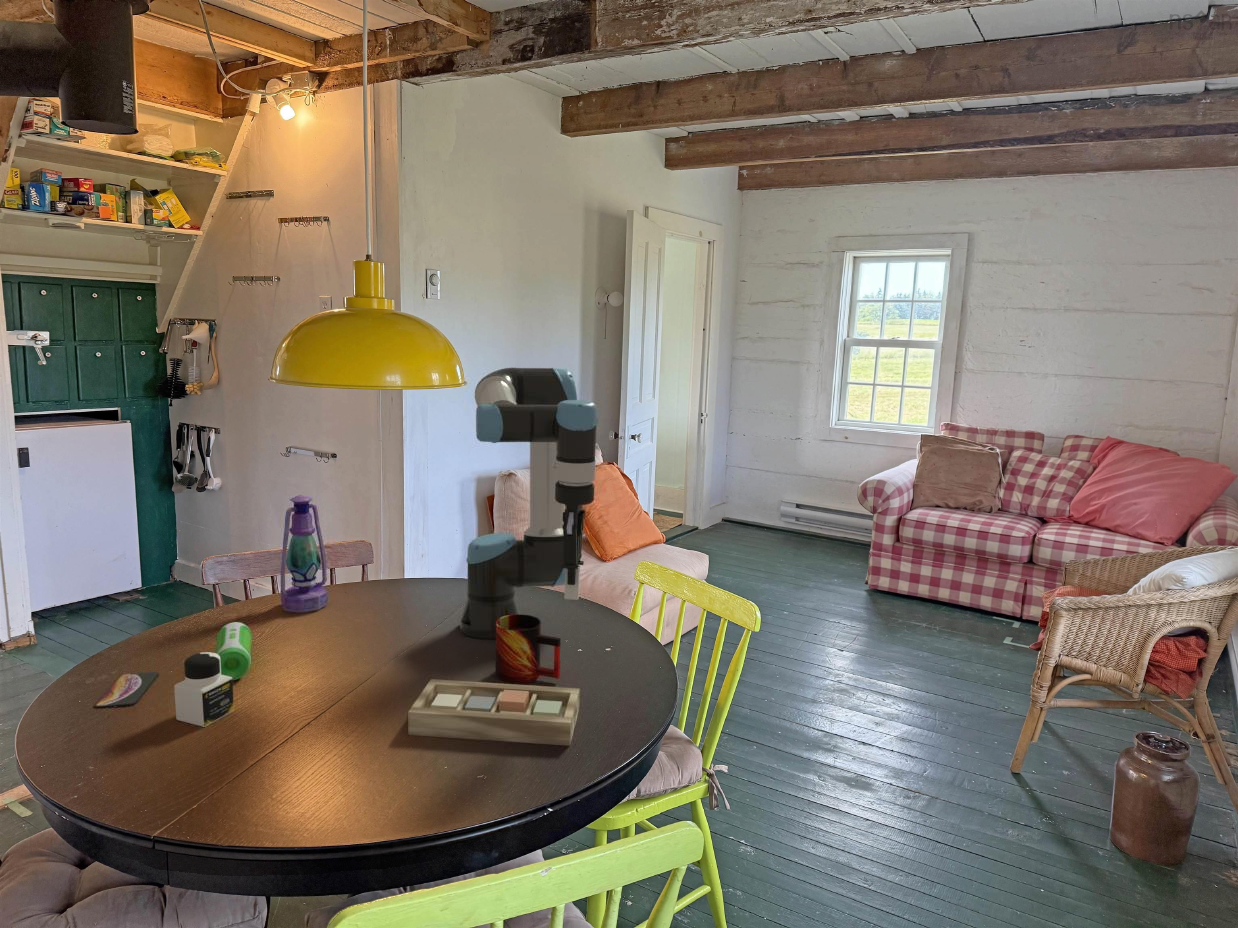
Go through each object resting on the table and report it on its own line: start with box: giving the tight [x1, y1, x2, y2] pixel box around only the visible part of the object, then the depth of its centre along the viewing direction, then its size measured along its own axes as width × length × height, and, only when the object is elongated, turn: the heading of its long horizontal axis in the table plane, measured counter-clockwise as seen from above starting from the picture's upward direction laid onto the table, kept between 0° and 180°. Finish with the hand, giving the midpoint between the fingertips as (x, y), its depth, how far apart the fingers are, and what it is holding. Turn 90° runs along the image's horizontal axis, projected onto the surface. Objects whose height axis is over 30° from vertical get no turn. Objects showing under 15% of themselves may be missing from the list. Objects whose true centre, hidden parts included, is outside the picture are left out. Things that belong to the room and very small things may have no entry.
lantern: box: [280, 494, 329, 614], centre depth 210 cm, size 13×12×30 cm
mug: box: [495, 613, 561, 685], centre depth 176 cm, size 10×14×12 cm
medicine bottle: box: [174, 651, 235, 728], centre depth 153 cm, size 7×7×12 cm
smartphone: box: [93, 671, 160, 709], centre depth 163 cm, size 8×1×15 cm
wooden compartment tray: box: [407, 678, 581, 747], centre depth 155 cm, size 14×30×4 cm, turn 86°
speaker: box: [214, 621, 253, 681], centre depth 175 cm, size 18×7×8 cm, turn 23°
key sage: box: [533, 700, 562, 717], centre depth 154 cm, size 5×5×2 cm
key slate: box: [465, 696, 496, 712], centre depth 155 cm, size 5×5×2 cm
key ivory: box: [431, 694, 463, 710], centre depth 156 cm, size 5×5×2 cm
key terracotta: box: [499, 690, 529, 713], centre depth 154 cm, size 5×5×2 cm
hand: (571, 597), depth 160 cm, fingers closed
